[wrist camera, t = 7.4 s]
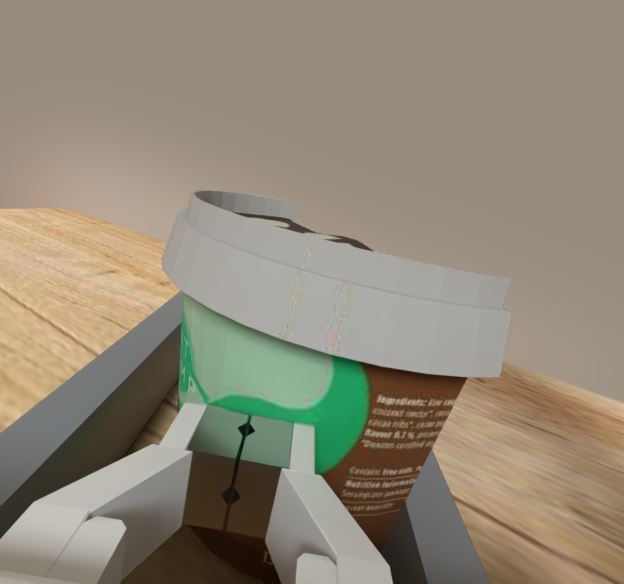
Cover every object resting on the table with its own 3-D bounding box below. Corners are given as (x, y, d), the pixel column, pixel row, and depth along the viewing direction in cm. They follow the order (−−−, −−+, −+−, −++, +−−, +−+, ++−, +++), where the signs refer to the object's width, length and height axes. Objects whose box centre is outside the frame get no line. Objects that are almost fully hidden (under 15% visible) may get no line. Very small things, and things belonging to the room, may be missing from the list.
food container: (131, 392, 17) (151, 173, 15) (256, 384, 20) (292, 200, 18) (152, 756, 7) (232, 254, 4) (397, 633, 10) (536, 286, 7)
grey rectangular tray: (363, 370, 25) (376, 322, 24) (470, 800, 8) (535, 688, 7) (184, 334, 24) (190, 283, 23) (-147, 707, 7) (-174, 570, 6)
